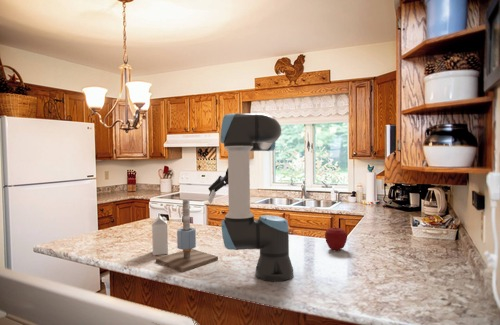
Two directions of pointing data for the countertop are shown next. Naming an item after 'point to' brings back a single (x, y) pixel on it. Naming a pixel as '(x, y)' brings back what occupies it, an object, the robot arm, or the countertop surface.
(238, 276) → the countertop surface
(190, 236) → the sleeve
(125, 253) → the countertop surface
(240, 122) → the robot arm
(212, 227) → the countertop surface
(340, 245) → the apple
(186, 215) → the post stand
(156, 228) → the milk carton
